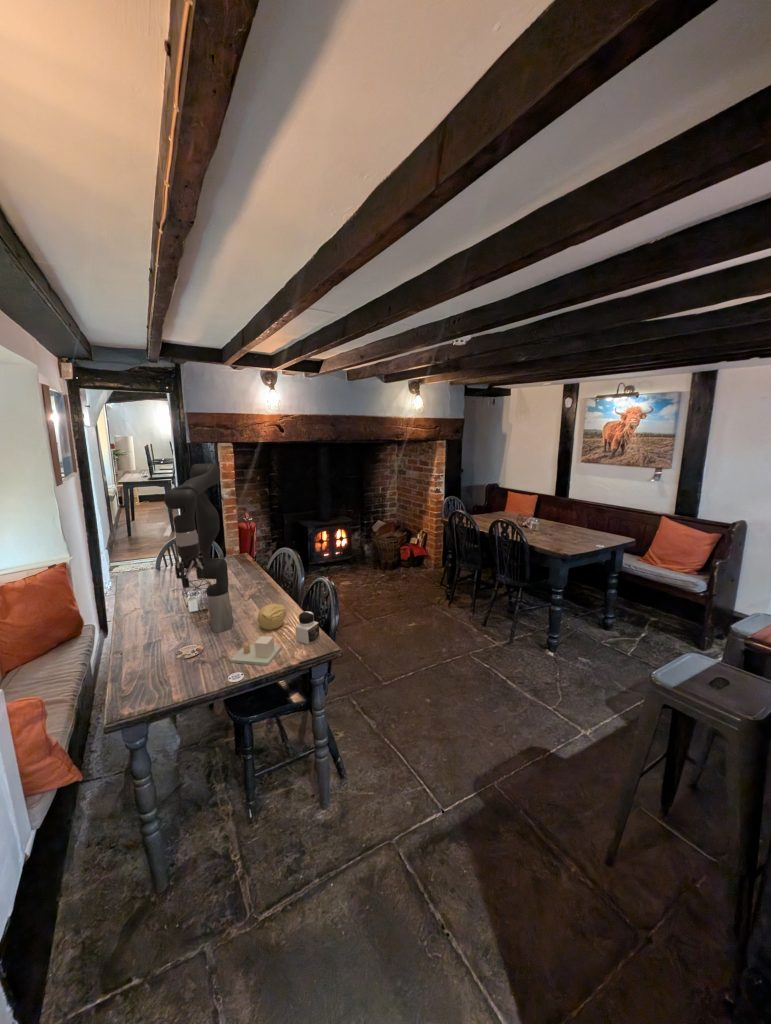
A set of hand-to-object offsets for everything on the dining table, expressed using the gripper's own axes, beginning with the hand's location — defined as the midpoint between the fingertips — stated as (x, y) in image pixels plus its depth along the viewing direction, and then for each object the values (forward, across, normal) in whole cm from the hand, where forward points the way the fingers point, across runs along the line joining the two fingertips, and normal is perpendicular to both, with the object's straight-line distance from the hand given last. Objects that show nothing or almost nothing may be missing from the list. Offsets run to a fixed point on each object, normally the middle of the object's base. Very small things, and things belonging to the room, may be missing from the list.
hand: (193, 583), depth 159 cm
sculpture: (+33, -29, +15) cm, 46 cm away
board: (+32, -5, +20) cm, 38 cm away
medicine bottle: (+33, -19, +36) cm, 52 cm away
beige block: (+31, -5, +24) cm, 40 cm away
